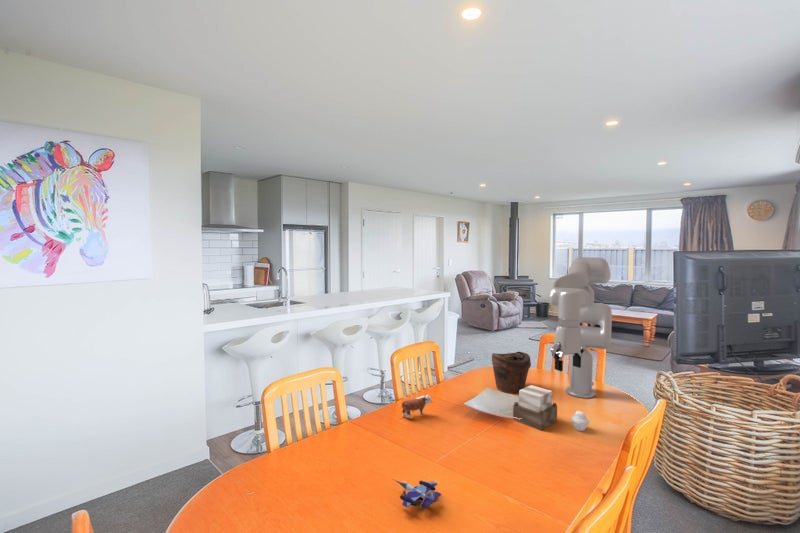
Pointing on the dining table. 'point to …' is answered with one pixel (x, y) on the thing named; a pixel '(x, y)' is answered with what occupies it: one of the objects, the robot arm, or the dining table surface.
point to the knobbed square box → (535, 407)
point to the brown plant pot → (511, 371)
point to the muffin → (579, 421)
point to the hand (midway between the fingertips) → (567, 368)
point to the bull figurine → (415, 405)
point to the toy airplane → (419, 493)
